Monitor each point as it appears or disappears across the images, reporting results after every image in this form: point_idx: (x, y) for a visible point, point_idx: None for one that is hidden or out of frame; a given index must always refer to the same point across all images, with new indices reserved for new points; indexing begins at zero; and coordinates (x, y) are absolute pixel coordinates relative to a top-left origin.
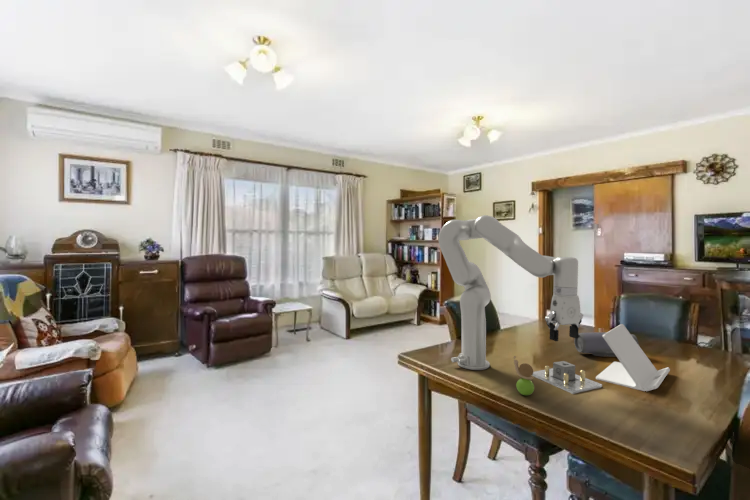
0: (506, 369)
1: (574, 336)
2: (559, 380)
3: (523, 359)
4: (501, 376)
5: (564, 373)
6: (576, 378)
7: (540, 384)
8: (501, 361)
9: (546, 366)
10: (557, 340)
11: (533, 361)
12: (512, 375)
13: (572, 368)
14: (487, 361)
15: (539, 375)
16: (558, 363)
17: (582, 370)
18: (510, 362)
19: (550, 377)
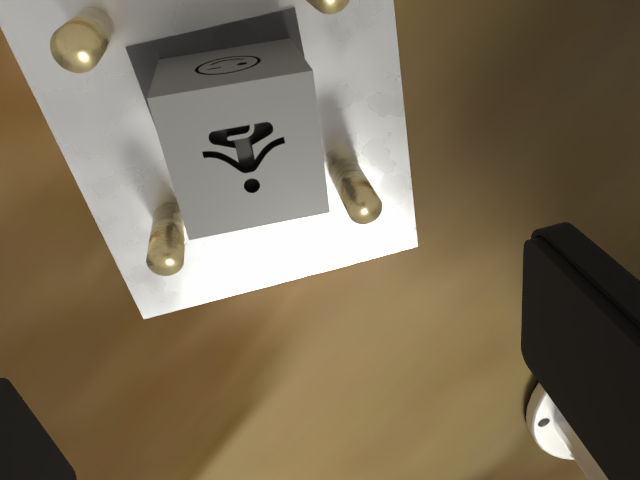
0: (487, 327)
1: (17, 427)
2: (314, 66)
3: (273, 459)
4: (601, 231)
5: (340, 5)
6: (128, 83)
7: (470, 65)
8: (424, 431)
9: (374, 206)
10: (559, 229)
11: (229, 434)
12: (526, 239)
13: (191, 82)
14: (541, 408)
15: (398, 185)
16: (297, 180)
17: (76, 53)
18: (384, 419)
19: (344, 136)
